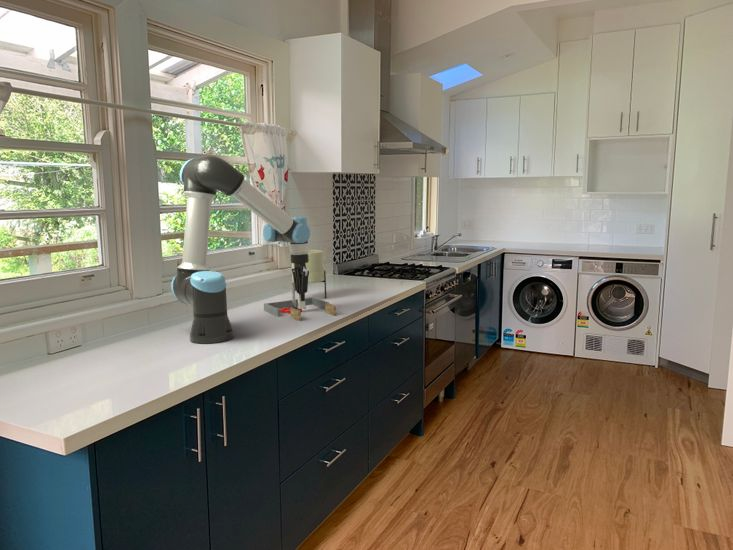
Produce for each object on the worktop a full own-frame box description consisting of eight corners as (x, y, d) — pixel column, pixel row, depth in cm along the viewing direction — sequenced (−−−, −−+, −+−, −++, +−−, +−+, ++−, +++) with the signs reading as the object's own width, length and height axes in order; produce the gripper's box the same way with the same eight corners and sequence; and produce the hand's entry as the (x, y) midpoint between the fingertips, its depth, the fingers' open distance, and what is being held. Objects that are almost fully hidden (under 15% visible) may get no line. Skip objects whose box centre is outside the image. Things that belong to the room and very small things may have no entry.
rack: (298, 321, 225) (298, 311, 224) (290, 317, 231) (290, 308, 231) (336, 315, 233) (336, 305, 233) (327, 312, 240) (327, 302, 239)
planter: (287, 302, 266) (284, 253, 262) (301, 295, 280) (299, 249, 277) (316, 303, 261) (314, 253, 257) (329, 297, 275) (328, 250, 272)
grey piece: (278, 316, 234) (277, 309, 233) (264, 310, 247) (263, 303, 247) (329, 309, 246) (329, 302, 246) (313, 303, 260) (313, 297, 259)
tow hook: (276, 312, 245) (287, 314, 238) (274, 282, 244) (285, 284, 237) (292, 309, 251) (304, 311, 243) (290, 280, 249) (302, 281, 242)
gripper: (314, 254, 235) (316, 309, 238) (301, 251, 246) (303, 304, 249) (297, 255, 231) (300, 311, 234) (285, 253, 242) (287, 307, 245)
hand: (301, 308), depth 242 cm, fingers closed
